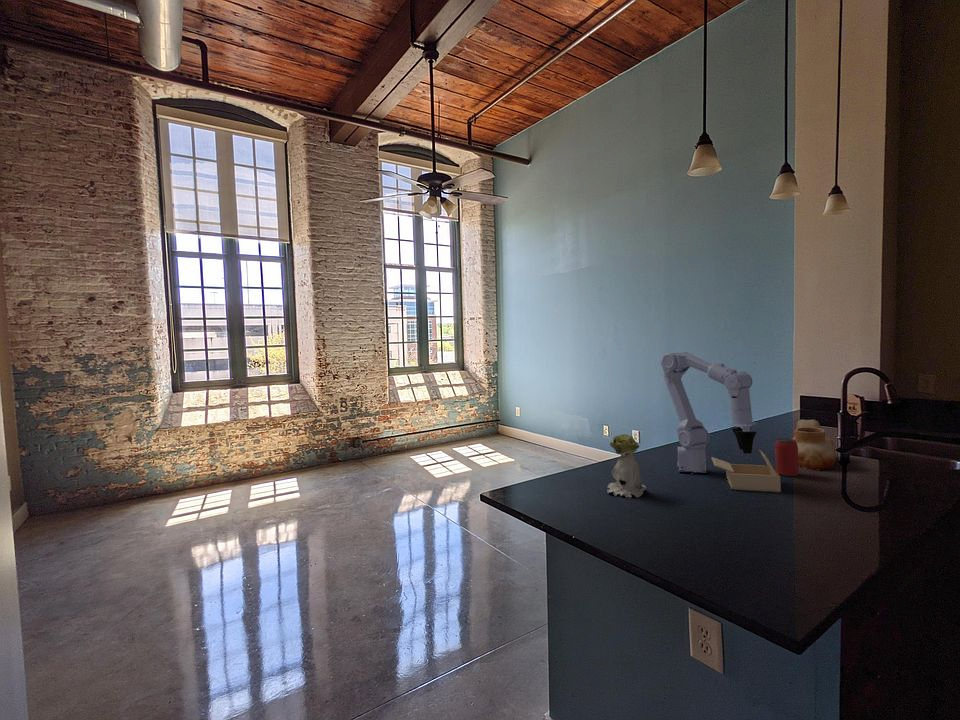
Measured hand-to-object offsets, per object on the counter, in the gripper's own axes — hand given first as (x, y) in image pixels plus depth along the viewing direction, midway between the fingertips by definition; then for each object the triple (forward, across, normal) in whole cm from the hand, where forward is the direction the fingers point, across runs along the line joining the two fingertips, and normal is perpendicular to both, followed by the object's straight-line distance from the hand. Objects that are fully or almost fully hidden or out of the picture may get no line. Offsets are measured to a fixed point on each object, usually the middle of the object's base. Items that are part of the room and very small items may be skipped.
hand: (745, 451), depth 149 cm
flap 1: (+4, 0, +7) cm, 8 cm away
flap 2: (+3, 0, -6) cm, 6 cm away
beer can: (+11, +16, -14) cm, 24 cm away
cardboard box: (+11, 0, -1) cm, 11 cm away
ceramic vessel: (+11, +36, -26) cm, 46 cm away
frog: (+10, -16, +37) cm, 42 cm away
